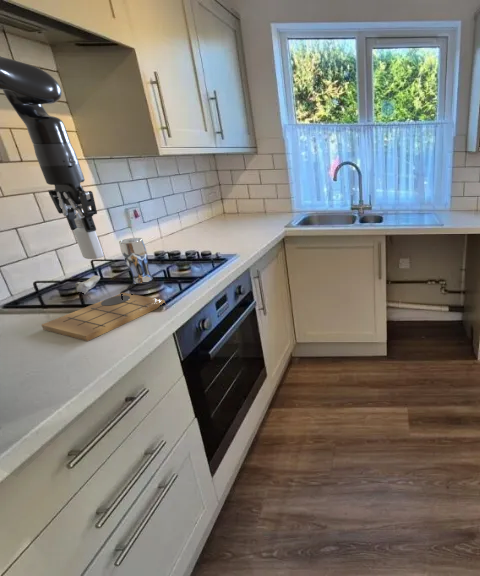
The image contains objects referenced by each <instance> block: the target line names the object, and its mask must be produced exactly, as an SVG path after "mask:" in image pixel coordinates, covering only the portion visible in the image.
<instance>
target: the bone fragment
mask: <svg viewBox="0 0 480 576" xmlns="http://www.w3.org/2000/svg"><path fill="white" fill-rule="evenodd" d="M100 279H101V277H100V276H99V275H92V276H91V277H90V278H88V279H86V280H84V281H82V282H81V281H77V282H76V283H75V284H74V286H75V289H76V292H77V293H78V292H82V293H84V295H86V294H87V293H88V292H89V290H92V289H93V288H94V287H95V286H96V285H97V284H98V282H99V281H100Z"/></svg>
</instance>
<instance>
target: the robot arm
mask: <svg viewBox="0 0 480 576" xmlns="http://www.w3.org/2000/svg"><path fill="white" fill-rule="evenodd" d="M0 90H1V91H3V94H4V96H5V97H6V99H7V101H8V102H9V103H10V105H11V106H12V109H13V110H14V111H15V112H16V114H17V115H18V117H19V119H20V120H21V121H22V122H23V124H24V126H25V127H26V130H27V133H28V135H29V139H30V140H31V143H32V146H33V149H34V154H35V157H36V160H37V162H38V165H39V167H40V171H41V172H42V175H43V177H44V180H45V182H46V184H48V185H49V186H54V189H50V190H48V194H49V197H50V199H51V201H52V202H53V204H54V206H55V208H56V211H57V212H58V214H62V215H63V216H64V217H65V218H66V220H67V224H68V227H69V229H70V230H71V231H74V230H75V229H76V228H77V226H76V223H75V221H74V219H75V218H76V217H77V215H76V213H79V215H80V216H81V217H82V218H81V219H82V222H83V225H84V228H85V230H86V232H93V231H95V232H96V231H97V227H96V224H95V222H94V219H93V217H94V216H95V215H98V211H97V206H96V201H95V197H94V193H93V191H92V190H84V188H83V187H82V185H81V183H84V182H85V176H84V174H83V170H82V168H81V165H80V162H79V159H78V156H77V153H76V150H75V149H74V147H73V145H72V143H71V139H70V137H69V134H68V131H67V128H66V126H65V122H64V121H63V120H62V119H61V118H59V117H57V116H53V115H50V114H49V113H48V112H47V111H46V110H45V108H44V106H43V105H52V104H55V103H57V102H59V100H60V99H61V97H62V88H61V86H60V84H59V83H58V81H57V80H56V79H55V77H53V76H52V75H51V74H50V73H49V72H47V71H45V70H43V69H42V68H39V67H38V66H37V67H36V66H34V65H32V64H28V63H26V62H22V61H19V60H15V59H13V58H8V57H5V56H0Z"/></svg>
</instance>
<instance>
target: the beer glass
mask: <svg viewBox="0 0 480 576" xmlns="http://www.w3.org/2000/svg"><path fill="white" fill-rule="evenodd" d="M118 244H119V248H120V252H121V256H122V258H123V260H124V263H125V264H126V266H127V269H128V270H129V271H130V274H131V278H132V285H134V284H136V283H142V282H150V281H152V282H154V278H153V275H152V274H151V271H150V267H149V266H150V265H149V256H148V252H147V251H148V250H147V248H146V245H145V242H144V241H143V238H142V237H129V238H124V239H121V240H119V241H118Z"/></svg>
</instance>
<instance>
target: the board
mask: <svg viewBox="0 0 480 576" xmlns="http://www.w3.org/2000/svg"><path fill="white" fill-rule="evenodd" d="M121 294H123V295H122V296H123V300H122V299H121ZM131 294H132V293H127V292H121V293H119V294H115V295H114V296H111V297H109V298H105V299H103V300H101V301H98V302H96V303H93V304H91V305H88V306H86V307H85V306H84V307H82V308H80V309H78V310H75V311H72V312H70V313H68V314H64V315H62V316H59V317H58V318H54V319H52V320H50V321H47V322H45V323H42V324H41V327H42V329H43V331H48V332H50V333H55V334H58V335H63V336H67V337H69V338H70V337H71V338H73V339H76V340H77V339H78V340H81V341H85V342H89V341H91V340H93V339H95V338H98V337H99V336H102V335H103V334H106V333H108V332H111V331H112V330H115V329H117V328H119V327H121V326H123V325H126V324H127V323H130V322H132V321H134V320H136V319H138V318H140V317H143V316H144V315H147V314H148V313H151V312H153V311H155V310H158V309H159V308H160V307H159V306H160V305H162V304H163V303H165V304H166V301H165V300H164V299H160V298H155V297H150V296H149V297H148V296H144V295H138V294H133V295H131ZM158 307H159V308H158Z"/></svg>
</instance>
